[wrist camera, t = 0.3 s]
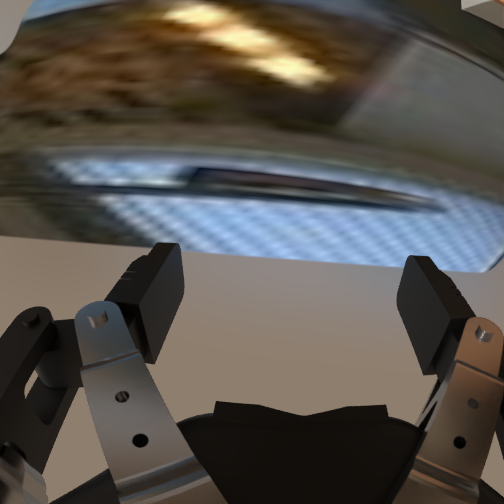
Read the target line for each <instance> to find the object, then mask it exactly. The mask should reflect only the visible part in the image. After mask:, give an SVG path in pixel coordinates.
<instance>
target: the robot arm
mask: <svg viewBox="0 0 504 504" xmlns="http://www.w3.org/2000/svg"><path fill="white" fill-rule="evenodd" d="M183 295H184V275H183V266H182V258H181V249H180V245H179V244H178V243H162V242H158V243H156V245H155V246H154V247H153V249H152V250H151V252H150V253H149V254H148V255H143V256H141V257H139V258H138V259H137V260H135V261H133V262H132V263H131V264H130V266H129V267H128V268H127V270H126V272H125V273H124V274H123V275H122V276H121V279H119V281H118V282H117V283H116V285H115V286H114V287H113V289H112V290H111V291H110V293H109V294H108V295H107V297H106V298H105V300H104V301H97V302H93V303H90V304H88V305H86V306H84V307H83V308H81V309H80V310H79V311H78V313H77V314H76V316H75V319H68V320H56V321H54V320H53V317H52V315H51V312H50V310H49V309H47V308H45V307H39V306H38V307H32V308H29V309H26V310H25V311H23V312H21V313H20V314H19V315H18V316H17V317H16V318H15V319H14V321H13V322H12V323H11V325H10V326H9V327H8V328H7V330H6V331H5V332H4V334H3V335H2V336H1V338H0V504H47V503H48V497H47V495H46V484H45V481H44V479H43V477H42V473H43V471H44V468H45V466H46V463H47V460H48V458H49V455H50V453H51V450H52V448H53V445H54V443H55V440H56V438H57V436H58V433H59V430H60V428H61V426H62V424H63V421H64V419H65V417H66V415H67V412H68V410H69V408H70V406H71V403H72V401H73V399H74V397H75V395H76V392H77V390H78V388H79V387H84V390H85V394H86V398H87V402H88V405H89V409H90V412H91V416H92V419H93V422H94V426H95V429H96V432H97V435H98V438H99V441H100V444H101V447H102V450H103V453H104V456H105V458H106V461H107V464H108V467H109V468H108V469H106V470H105V471H103V472H102V473H100V474H98V475H97V476H95V477H93V478H92V479H90V480H89V481H87V482H85V483H84V484H82V485H80V486H79V487H77V488H75V489H73V490H72V491H70V492H68V493H67V494H65V495H63V496H61V497H60V498H58V499H56V500H54V501H52V502H51V503H49V504H504V497H503V496H501V495H500V494H499V493H498V492H497V491H495V490H494V489H493V488H492V487H490V486H489V485H488V484H487V483H485V482H484V481H483V480H482V479H481V478H480V477H481V474H482V471H483V469H484V465H485V463H486V459H487V456H488V453H489V450H490V446H491V443H492V439H493V436H494V432H495V431H496V435H497V438H498V441H499V445H500V448H501V451H502V455H503V459H504V336H503V333H502V331H501V329H500V328H499V327H498V326H497V325H496V324H495V323H493V322H492V321H490V320H488V319H485V318H482V317H476V315H475V314H474V312H473V311H472V309H471V307H470V306H469V304H468V303H467V301H466V300H465V298H464V297H463V296H461V292H460V291H459V290H458V289H457V287H456V285H455V284H454V282H453V281H452V280H451V278H450V277H448V276H447V275H446V274H445V273H443V272H442V271H441V270H439V269H438V268H437V266H436V265H435V264H434V262H433V261H432V259H431V258H430V257H429V256H415V255H410V256H408V258H407V260H406V263H405V267H404V271H403V275H402V278H401V282H400V285H399V289H398V292H397V308H398V311H399V313H400V316H401V318H402V320H403V323H404V325H405V328H406V330H407V333H408V335H409V338H410V341H411V343H412V346H413V348H414V351H415V354H416V356H417V359H418V362H419V364H420V367H421V370H422V373H423V375H434V374H437V377H438V379H437V380H436V382H435V384H434V386H433V388H432V390H431V392H430V394H429V397H428V399H427V401H426V403H425V405H424V407H423V409H422V411H421V413H420V415H419V417H418V419H417V421H416V423H415V425H413V424H411V423H409V422H406V421H404V420H401V419H397V418H393V417H388V412H387V407H386V405H371V406H347V407H343V408H339V409H335V410H330V411H326V412H322V413H317V414H312V415H307V416H301V415H296V414H292V413H288V412H284V411H280V410H276V409H273V408H269V407H265V406H261V405H255V404H242V403H231V402H220V401H216V403H215V408H214V413H208V414H202V415H197V416H194V417H190V418H187V419H185V420H182V421H180V422H178V423H175V421H174V419H173V417H172V416H171V414H170V412H169V410H168V408H167V406H166V404H165V402H164V400H163V398H162V397H161V395H160V392H159V391H158V388H157V386H156V385H155V383H154V380H153V378H152V376H151V375H150V372H149V370H148V368H147V366H146V364H145V363H149V364H155V362H156V360H157V357H158V355H159V353H160V350H161V348H162V345H163V343H164V341H165V338H166V335H167V333H168V331H169V329H170V326H171V324H172V322H173V319H174V317H175V315H176V312H177V310H178V308H179V305H180V303H181V301H182V298H183ZM34 369H35V371H36V372H37V374H38V377H37V379H36V381H35V383H34V384H33V386H32V388H31V390H30V391H29V393H28V395H27V397H26V399H25V395H24V389H25V385H26V383H27V381H28V380H29V378H30V376H31V375H32V373H33V371H34Z"/></svg>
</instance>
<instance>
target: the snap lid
mask: <svg viewBox="0 0 504 504" xmlns="http://www.w3.org/2000/svg"><path fill="white" fill-rule="evenodd" d="M493 1H495V2H497V3H499V4H500V5H502V6H504V0H493Z"/></svg>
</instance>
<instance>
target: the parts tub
mask: <svg viewBox="0 0 504 504" xmlns="http://www.w3.org/2000/svg"><path fill="white" fill-rule="evenodd" d="M461 3H462V10H464V11H467V12H469V13H471V14H474V15H476V16H478V17H480V18H483V19H485V20H487V21H489V22H491V23H493V24H495V25H497V26H499V27H501V28H503V29H504V6H502V5H500V4H499V3H497V2H495V1H493V0H461Z"/></svg>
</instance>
